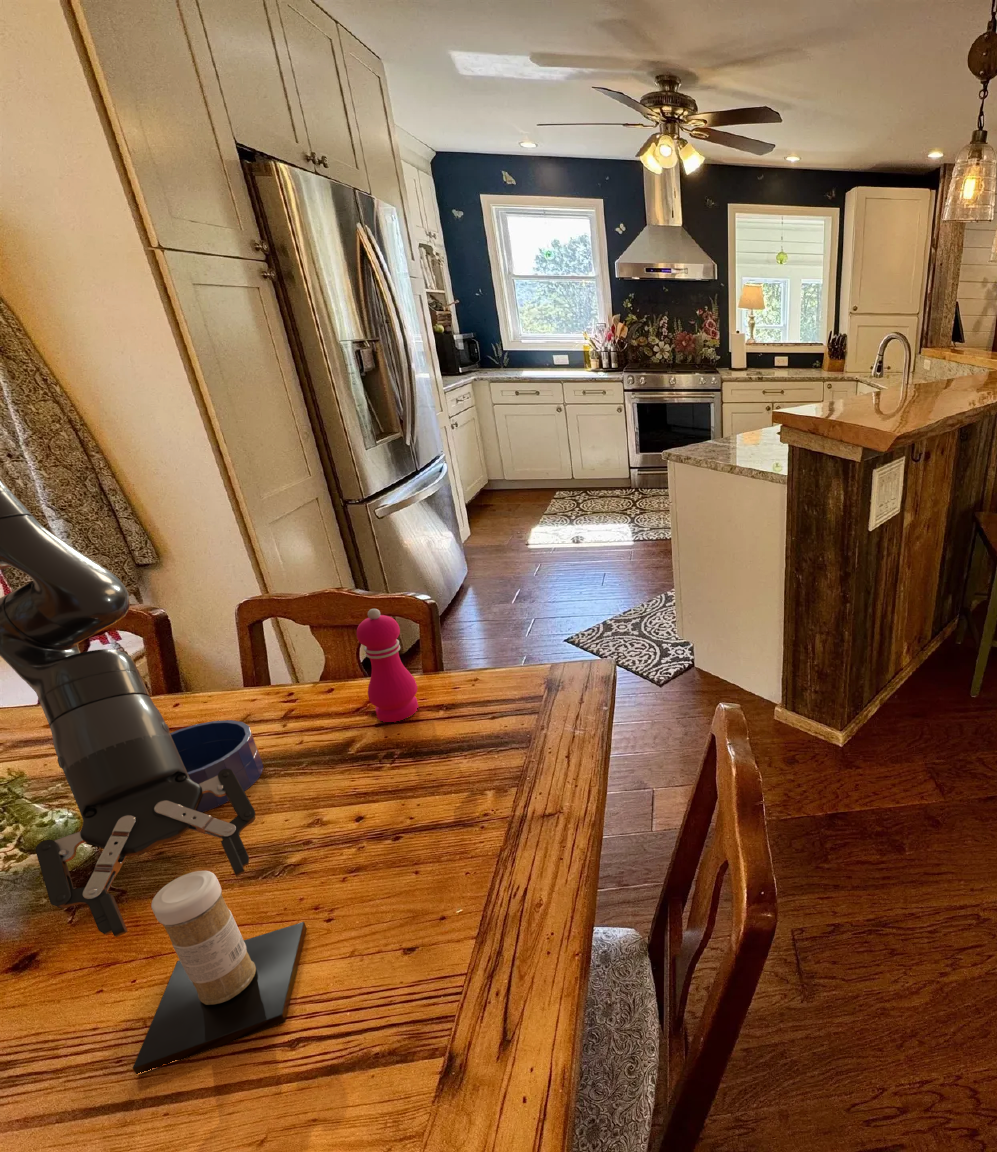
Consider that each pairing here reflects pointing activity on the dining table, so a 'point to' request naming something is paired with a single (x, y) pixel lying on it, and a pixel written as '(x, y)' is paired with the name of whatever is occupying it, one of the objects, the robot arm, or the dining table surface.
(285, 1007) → the plate
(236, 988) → the sprinkles bottle
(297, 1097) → the dining table surface
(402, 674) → the pepper mill
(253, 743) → the bowl
